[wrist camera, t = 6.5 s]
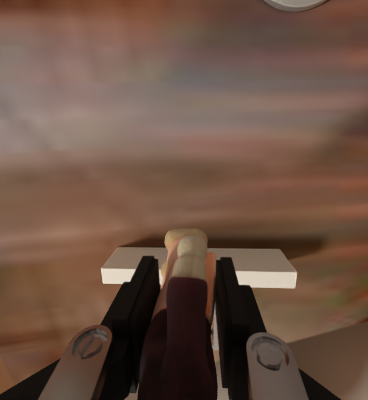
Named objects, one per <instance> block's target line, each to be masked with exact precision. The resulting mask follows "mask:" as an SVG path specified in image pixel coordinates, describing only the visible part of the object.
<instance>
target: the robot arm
mask: <svg viewBox="0 0 368 400" xmlns="http://www.w3.org/2000/svg"><path fill="white" fill-rule="evenodd" d="M264 1H265V2H267V3H268V4H269V5H271V6H273V7H275V8H277V9H280V10H284V11H292V12H298V11H304V10H309V9H311V8H314V7H316V6H319V5H321V4H322V3H324V2H325V1H327V0H264ZM159 293H160V279H159V264H158V259H155V257H154V256H142V258H141V260H140V262H139V264H138V266H137V268H136V270H135V272H134V274H133V276H132V278H131V280H130V282H124V283H123V284H122V286H121V288H120V290H119V291H118V293H117V295H116V297H115V299H114V301H113V302H112V304H111V306H110V308H109V310H108V312H107V313H106V315H105V317H104V319H103V321H102V323H101V324H100V325H94V326H90V327H88V328H85V329H83V330H82V331H80V332H79V333H78V334H77V335H75V336H74V337H73V339H72V340H71V341H70V343H69V344H68V346H67V348H66V350H65V352H64V353H63V355H62V357H61V358H60V359H59V360H57V361H55V362H54V363H52V364H50V365H49V366H47V367H45V368H44V369H42V370H40V371H39V372H37V373H35V374H34V375H32V376H30V377H29V378H27V379H25V380H23V381H22V382H20V383H18V384H17V385H15V386H13V387H12V388H10V389H8V390H7V391H5V392H3V393H2V394H0V400H124V399H125V398H126V397H127V396H128V395H129V393H136V391H137V387H138V383H139V365H140V358H141V352H142V346H143V341H144V336H145V333H146V331H147V329H148V327H149V325H150V323H151V319H152V314H153V311H154V308H155V304H156V301H157V298H158V296H159ZM215 312H216V323H217V334H218V345H219V356H220V366H221V379H222V387H223V388H228V395H229V400H341V399H339V398H338V397H337V396H335V395H334V394H332V393H331V392H330V391H329V390H327V389H326V388H324V387H323V386H322V385H321V384H319V383H318V382H317V381H315V380H314V379H313V378H311V377H310V376H308V375H307V374H306V373H304V372H303V371H302V370H300V369H299V368H298V367H297V364H296V361H295V358H294V355H293V353H292V352H291V349H290V348H289V347H288V345H287V344H286V343H285V342H284V341H282V340H281V339H280V338H279V337H277V336H275V335H273V334H269V333H267V331H266V329H265V326H264V323H263V320H262V317H261V314H260V311H259V309H258V306H257V303H256V300H255V297H254V294H253V291H252V288H251V286H250V285H239V283H238V279H237V275H236V272H235V268H234V264H233V261H232V257H220V260H216V299H215Z"/></svg>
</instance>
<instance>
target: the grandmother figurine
mask: <svg viewBox="0 0 368 400" xmlns="http://www.w3.org/2000/svg"><path fill="white" fill-rule="evenodd" d="M207 242H208V241H207V237H206V235H205V233H204V232H203V231H201V230H199V229H196V228H188V229H173V230H170V231H169V232H168V233H167V234H166V236H165V246H166V248H167V250H168V256H167V261H165V262H164V264H163V265H162V267H161V275H162V277H163V280H162V288H161V291H160V293H159V296H158V298H157V301H156V304H155V308H154V311H153V314H152V319H151V323H150V325H149V327H148V329H147V331H146V333H145V336H144V341H143V346H142V352H141V358H140V365H139V388H138V399H137V400H217V388H218V386H217V374H216V367H215V361H214V355H213V348H212V341H211V325H212V321H213V316H214V309H215V299H216V260H217V256H216V254H215V253H214V252H208V253H207V250H208V249H207Z"/></svg>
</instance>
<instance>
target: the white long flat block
mask: <svg viewBox="0 0 368 400" xmlns="http://www.w3.org/2000/svg"><path fill="white" fill-rule="evenodd" d="M207 249H208V250H207V253H208V252H214V253H215V254H216V256H217V260H220V257H232V261H233V264H234V268H235V272H236V275H237V279H238V283H239V285H250V286H251V287H264V288H295V285H296V278H297V271H296V270H295V269H294V267H293V266H292V265H291V263H290V262H289V261H288V259H287V258H286V257H285V255H284V254H283V253H282V251H281V250H280V249H236V248H207ZM142 256H154V257H155V259H158V264H159V279H160V285H162V280H163V277H162V275H161V267H162V265H163V264H164V262H165V261H167V256H168V250H167V248H148V247H117V248H116V250H115V251H114V252H113V254H112V255H111V256H110V257H109V259H108V260H107V261H106V262H105V264H104V265H103V266H102V268H101V273H102V279H103V283H108V284H123V283H124V282H130V280H131V278H132V276H133V274H134V272H135V270H136V268H137V266H138V264H139V262H140V260H141V258H142Z"/></svg>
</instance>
